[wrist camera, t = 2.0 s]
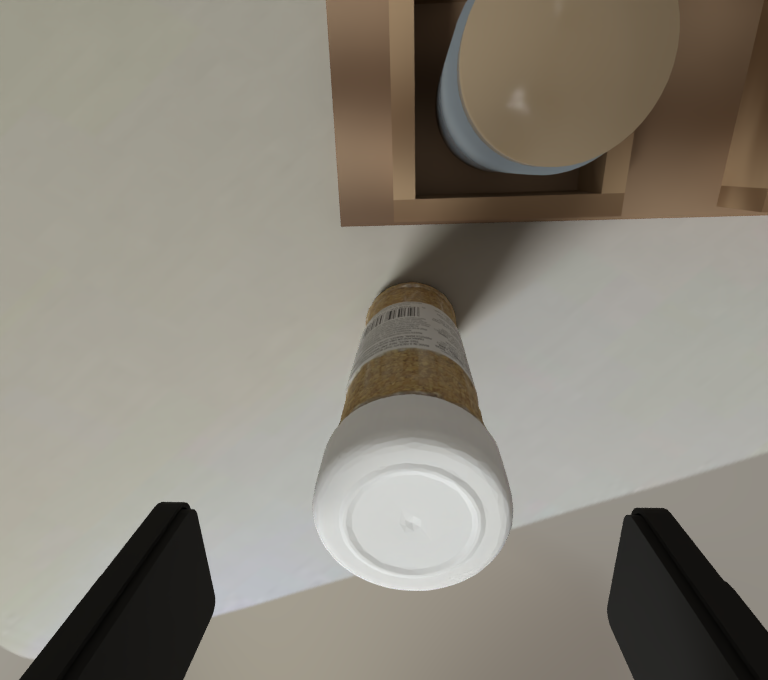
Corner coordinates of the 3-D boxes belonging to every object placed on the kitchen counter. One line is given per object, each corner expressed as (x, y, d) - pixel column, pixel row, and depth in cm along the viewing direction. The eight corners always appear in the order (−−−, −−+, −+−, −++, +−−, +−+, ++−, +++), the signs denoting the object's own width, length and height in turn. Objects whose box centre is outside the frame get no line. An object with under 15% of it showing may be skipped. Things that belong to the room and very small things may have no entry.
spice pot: (435, 29, 16) (454, -85, 9) (574, 21, 16) (715, -104, 9) (434, 174, 18) (449, 179, 11) (559, 169, 18) (664, 172, 10)
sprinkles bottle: (373, 369, 23) (329, 605, 11) (359, 284, 22) (287, 447, 9) (461, 359, 23) (521, 596, 10) (453, 272, 21) (513, 427, 9)
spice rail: (330, -15, 17) (308, -65, 14) (1065, -62, 15) (1271, -134, 12) (346, 222, 21) (331, 235, 17) (953, 205, 19) (1087, 215, 15)
